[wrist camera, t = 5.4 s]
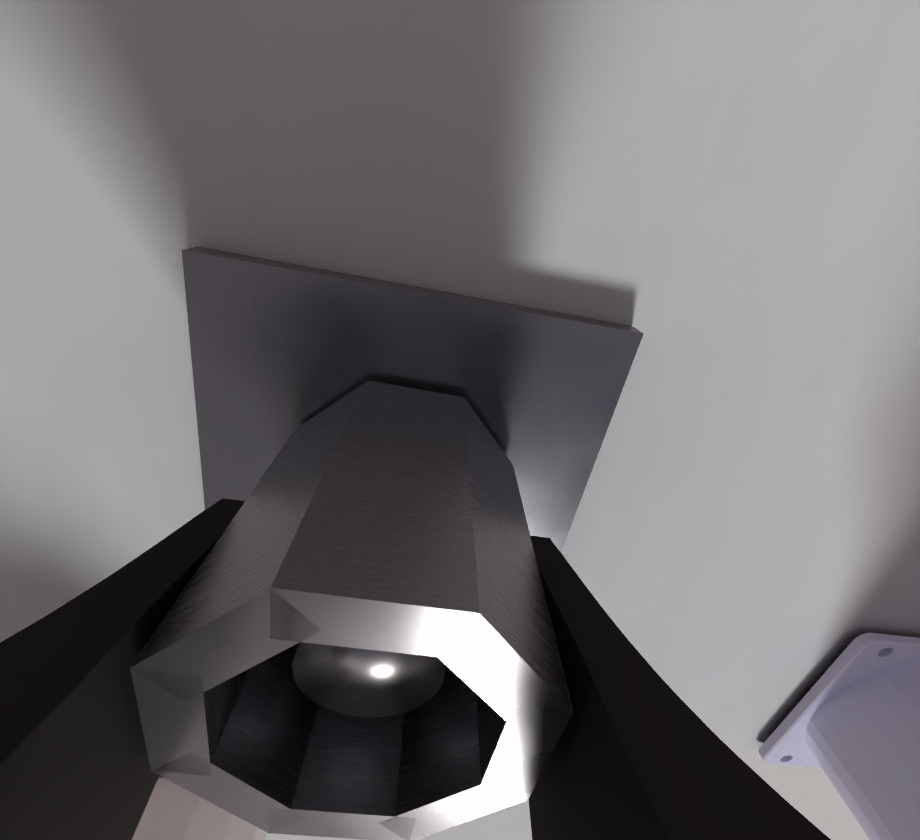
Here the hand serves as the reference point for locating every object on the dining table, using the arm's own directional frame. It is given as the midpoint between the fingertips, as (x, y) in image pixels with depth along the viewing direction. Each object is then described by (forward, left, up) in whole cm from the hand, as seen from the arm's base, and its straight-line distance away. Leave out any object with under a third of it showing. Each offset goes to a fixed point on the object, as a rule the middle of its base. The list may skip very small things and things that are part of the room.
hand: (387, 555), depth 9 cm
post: (0, 0, -3) cm, 3 cm away
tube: (0, 0, -2) cm, 2 cm away
